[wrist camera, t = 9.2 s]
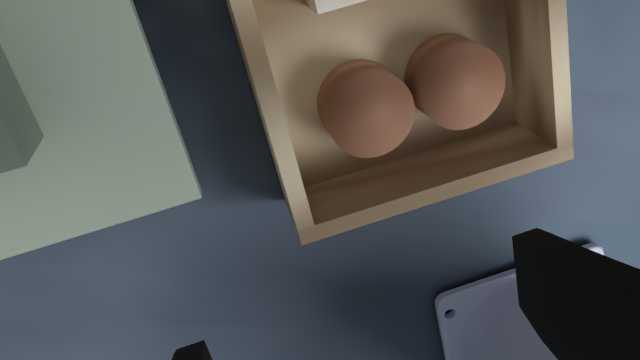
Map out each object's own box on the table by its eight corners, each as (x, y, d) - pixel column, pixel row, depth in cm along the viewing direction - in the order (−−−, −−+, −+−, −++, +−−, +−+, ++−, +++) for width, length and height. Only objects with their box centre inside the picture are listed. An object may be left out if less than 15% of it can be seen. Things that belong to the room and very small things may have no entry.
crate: (523, 126, 24) (574, 158, 21) (285, 200, 24) (301, 245, 20) (489, -258, 19) (551, -290, 16) (172, -178, 18) (171, -196, 15)
